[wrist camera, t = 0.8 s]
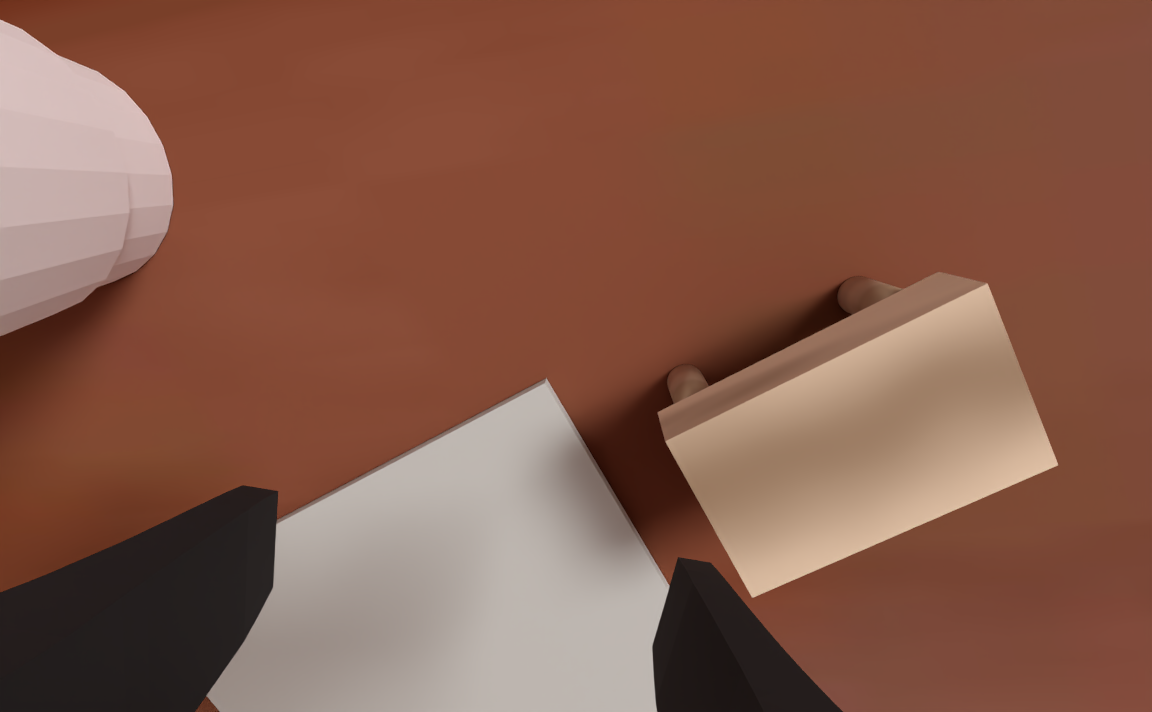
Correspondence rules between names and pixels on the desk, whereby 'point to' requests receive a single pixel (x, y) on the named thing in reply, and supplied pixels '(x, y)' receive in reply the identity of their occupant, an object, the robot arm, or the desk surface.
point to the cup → (71, 182)
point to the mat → (460, 583)
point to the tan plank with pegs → (857, 428)
